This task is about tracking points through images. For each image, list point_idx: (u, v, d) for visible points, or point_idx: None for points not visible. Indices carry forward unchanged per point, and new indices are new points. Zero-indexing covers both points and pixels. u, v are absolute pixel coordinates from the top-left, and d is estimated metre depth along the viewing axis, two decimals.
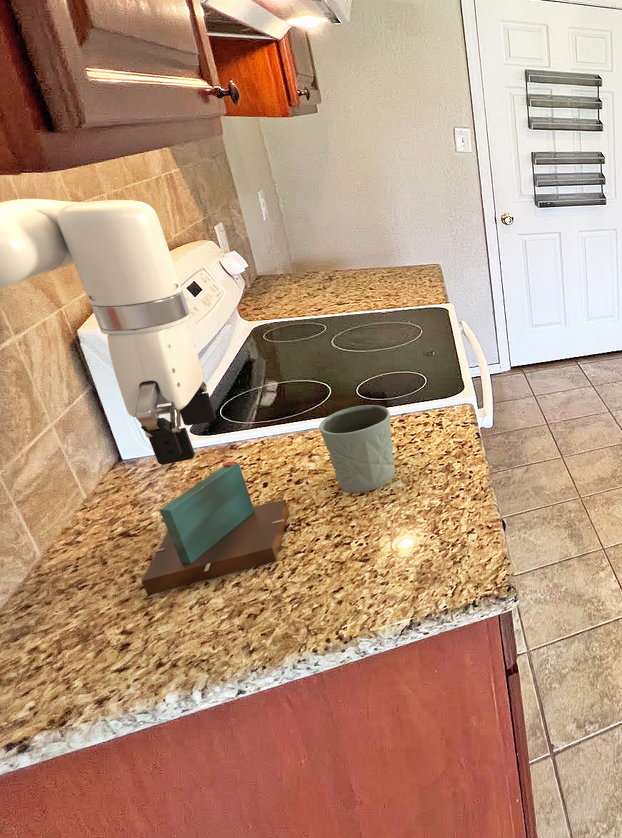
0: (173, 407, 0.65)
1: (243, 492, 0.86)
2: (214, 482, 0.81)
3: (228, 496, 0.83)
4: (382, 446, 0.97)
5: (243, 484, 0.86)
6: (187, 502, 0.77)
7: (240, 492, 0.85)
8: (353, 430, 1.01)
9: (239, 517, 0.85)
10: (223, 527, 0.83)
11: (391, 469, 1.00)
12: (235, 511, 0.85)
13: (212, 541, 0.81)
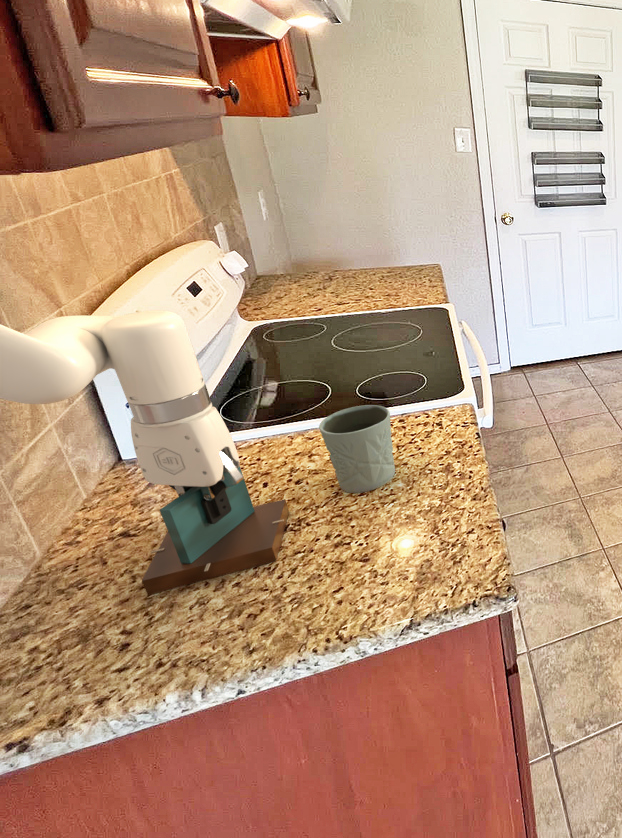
0: None
1: (243, 492, 0.86)
2: None
3: (228, 496, 0.83)
4: (381, 446, 0.97)
5: (243, 484, 0.86)
6: (187, 502, 0.77)
7: (240, 492, 0.85)
8: (353, 430, 1.01)
9: (239, 517, 0.85)
10: (223, 527, 0.83)
11: (391, 469, 1.00)
12: (235, 511, 0.85)
13: (212, 541, 0.81)
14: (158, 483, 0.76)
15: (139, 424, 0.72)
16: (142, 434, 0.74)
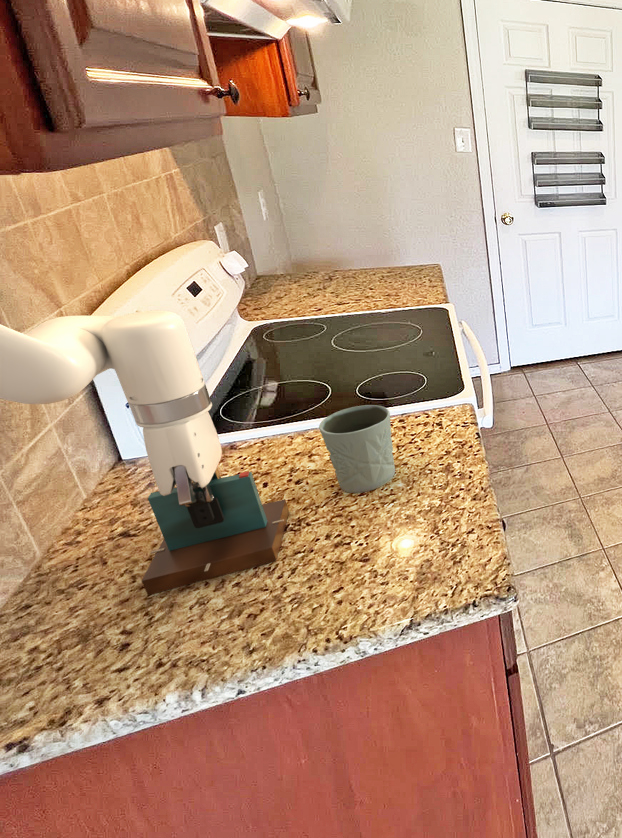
0: None
1: (252, 506, 0.83)
2: (211, 487, 0.80)
3: (229, 504, 0.82)
4: (381, 446, 0.97)
5: (253, 498, 0.83)
6: (172, 496, 0.78)
7: (248, 504, 0.83)
8: (353, 430, 1.01)
9: (242, 527, 0.83)
10: (218, 531, 0.82)
11: (391, 469, 1.00)
12: (237, 520, 0.83)
13: (201, 539, 0.81)
14: None
15: None
16: None
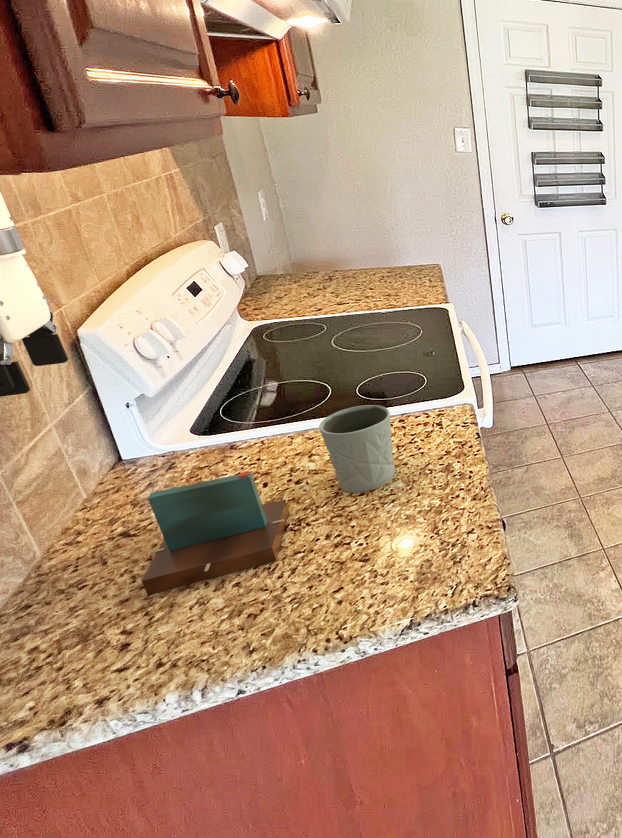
0: (3, 340, 0.67)
1: (252, 506, 0.83)
2: (211, 487, 0.80)
3: (229, 504, 0.82)
4: (381, 446, 0.97)
5: (253, 498, 0.83)
6: (172, 496, 0.78)
7: (248, 504, 0.83)
8: (353, 430, 1.01)
9: (242, 527, 0.83)
10: (218, 531, 0.82)
11: (391, 469, 1.00)
12: (237, 520, 0.83)
13: (201, 539, 0.81)
14: None
15: None
16: None
